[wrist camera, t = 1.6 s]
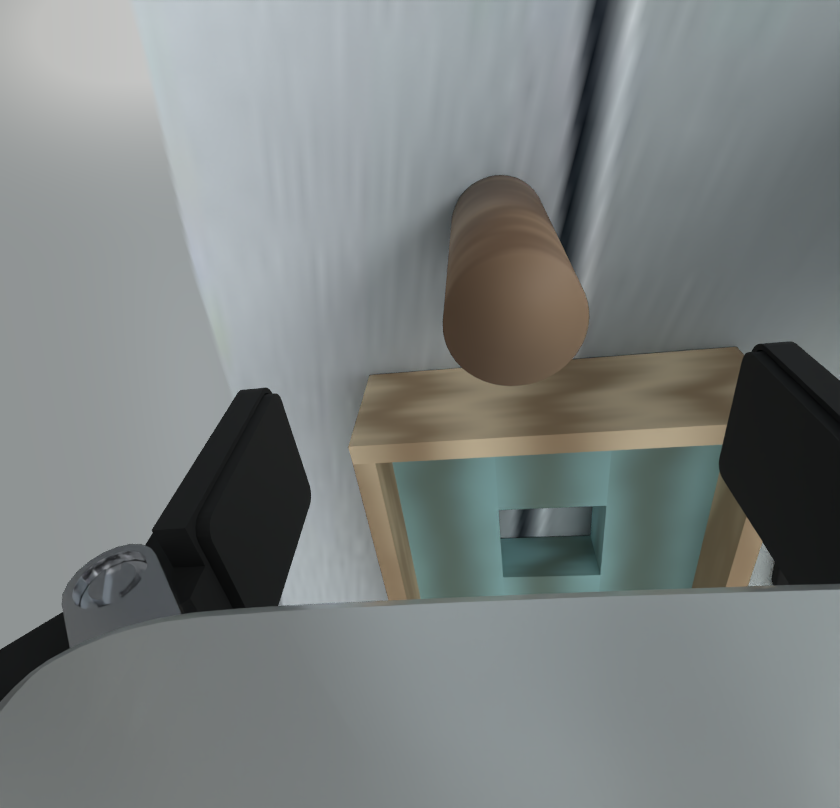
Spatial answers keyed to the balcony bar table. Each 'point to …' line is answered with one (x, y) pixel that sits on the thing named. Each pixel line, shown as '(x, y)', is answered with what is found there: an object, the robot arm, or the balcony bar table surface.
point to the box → (554, 477)
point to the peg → (510, 287)
